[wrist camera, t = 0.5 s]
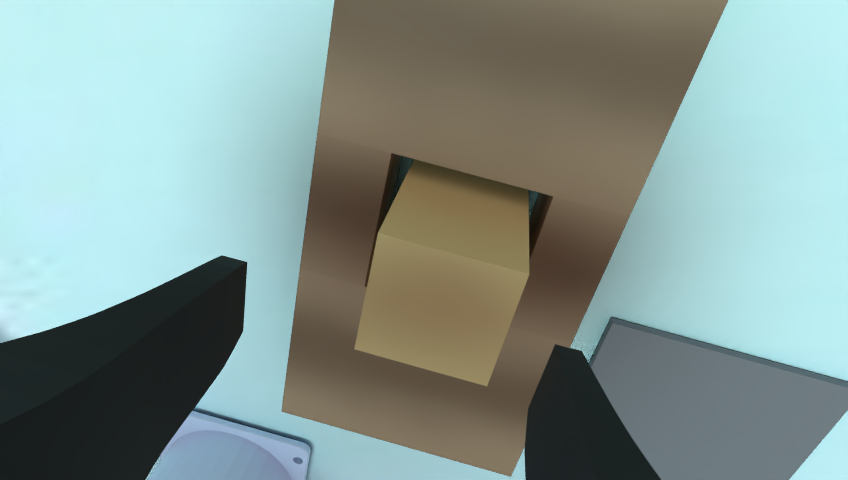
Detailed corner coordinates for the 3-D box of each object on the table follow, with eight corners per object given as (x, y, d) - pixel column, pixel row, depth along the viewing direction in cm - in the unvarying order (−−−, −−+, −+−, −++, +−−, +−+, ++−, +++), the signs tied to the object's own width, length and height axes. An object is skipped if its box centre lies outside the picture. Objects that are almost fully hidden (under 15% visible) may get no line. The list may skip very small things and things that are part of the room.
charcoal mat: (735, 532, 28) (737, 540, 27) (534, 475, 28) (534, 482, 27) (857, 384, 23) (862, 391, 22) (611, 317, 23) (612, 323, 23)
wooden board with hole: (512, 422, 26) (510, 476, 24) (305, 364, 27) (281, 411, 24) (714, -50, 16) (749, -46, 14) (380, -135, 17) (353, -146, 14)
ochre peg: (497, 263, 23) (486, 386, 16) (400, 236, 23) (354, 349, 17) (528, 172, 21) (529, 274, 15) (421, 143, 21) (377, 232, 15)
